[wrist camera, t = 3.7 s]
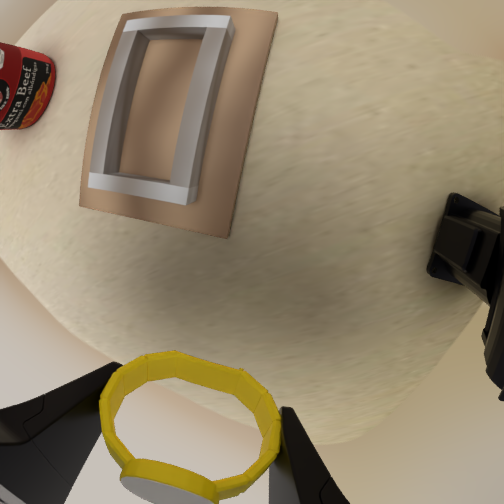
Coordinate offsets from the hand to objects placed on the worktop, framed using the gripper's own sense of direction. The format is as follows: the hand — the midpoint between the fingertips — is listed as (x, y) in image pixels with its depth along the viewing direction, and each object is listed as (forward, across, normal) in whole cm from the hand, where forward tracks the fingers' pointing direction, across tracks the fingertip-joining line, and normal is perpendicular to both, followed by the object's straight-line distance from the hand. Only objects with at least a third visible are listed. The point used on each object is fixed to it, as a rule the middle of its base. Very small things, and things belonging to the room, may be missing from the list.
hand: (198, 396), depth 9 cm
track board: (+11, +7, -11) cm, 17 cm away
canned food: (+11, +23, -13) cm, 29 cm away
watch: (+2, 0, 0) cm, 2 cm away
